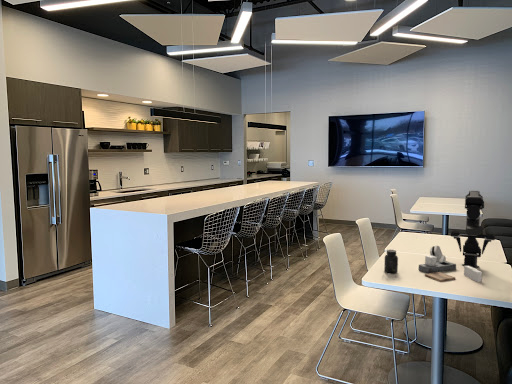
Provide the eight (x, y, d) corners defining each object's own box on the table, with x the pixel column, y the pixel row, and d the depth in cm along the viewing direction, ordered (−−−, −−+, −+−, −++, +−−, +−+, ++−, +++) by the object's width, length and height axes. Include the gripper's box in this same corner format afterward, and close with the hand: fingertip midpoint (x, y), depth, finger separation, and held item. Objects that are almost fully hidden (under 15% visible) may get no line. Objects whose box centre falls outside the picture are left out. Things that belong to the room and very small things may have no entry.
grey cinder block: (445, 266, 218) (445, 261, 217) (456, 269, 211) (456, 264, 211) (418, 270, 210) (418, 264, 210) (428, 273, 204) (428, 268, 203)
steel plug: (430, 269, 211) (430, 255, 211) (436, 271, 208) (436, 257, 207) (424, 270, 210) (425, 256, 209) (430, 272, 206) (431, 257, 206)
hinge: (442, 265, 220) (436, 248, 221) (434, 266, 222) (428, 250, 223) (446, 258, 234) (440, 242, 235) (437, 260, 237) (432, 244, 238)
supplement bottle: (382, 270, 209) (382, 249, 208) (394, 270, 210) (394, 248, 209) (387, 274, 203) (388, 252, 202) (399, 274, 203) (400, 252, 202)
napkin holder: (460, 273, 205) (460, 263, 204) (484, 277, 199) (485, 266, 199) (458, 281, 192) (459, 270, 192) (484, 285, 186) (485, 274, 186)
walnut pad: (439, 273, 203) (439, 272, 203) (455, 279, 194) (455, 277, 194) (425, 276, 200) (425, 274, 200) (440, 281, 190) (440, 279, 190)
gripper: (451, 218, 186) (449, 250, 184) (496, 221, 176) (494, 255, 175) (452, 220, 195) (450, 251, 193) (494, 223, 186) (493, 255, 184)
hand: (471, 253), depth 186 cm, fingers open, 9 cm apart
